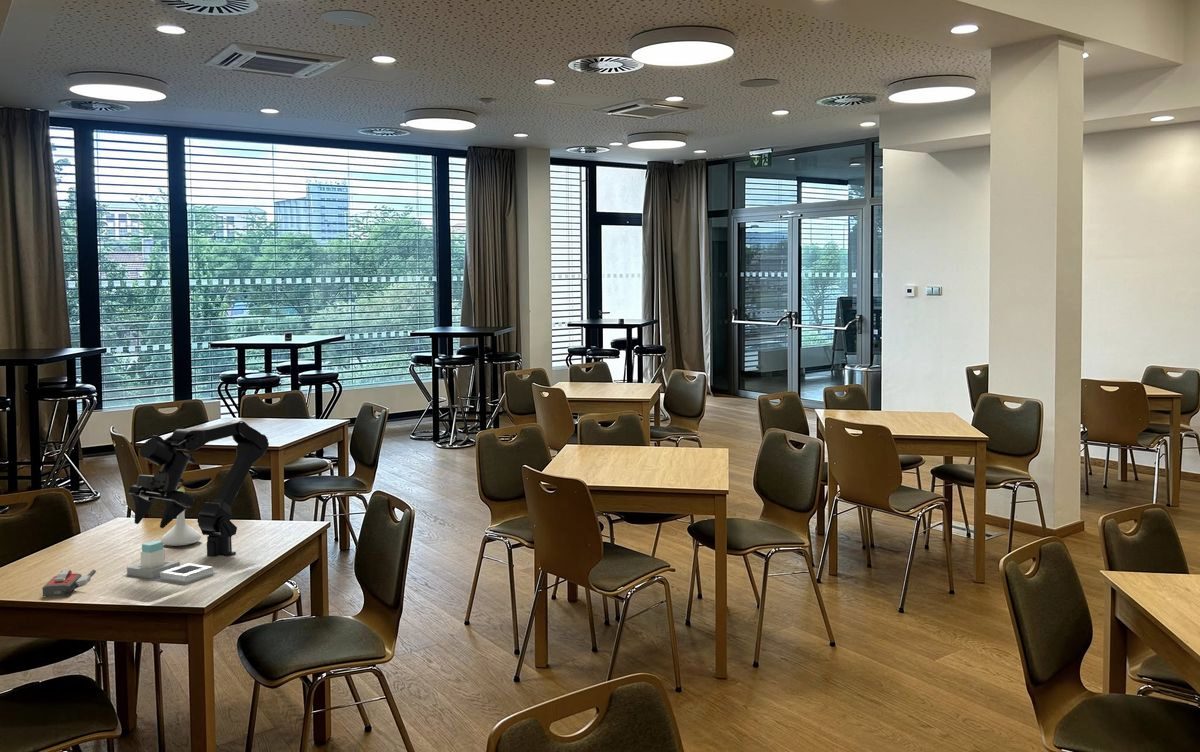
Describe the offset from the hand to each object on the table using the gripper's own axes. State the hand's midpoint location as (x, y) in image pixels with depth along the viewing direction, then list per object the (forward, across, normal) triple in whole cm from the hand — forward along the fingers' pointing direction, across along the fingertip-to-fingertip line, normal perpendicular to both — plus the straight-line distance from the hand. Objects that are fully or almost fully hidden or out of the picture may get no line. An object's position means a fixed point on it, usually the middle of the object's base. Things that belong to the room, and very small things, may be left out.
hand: (148, 525), depth 264 cm
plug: (+10, 0, +8) cm, 13 cm away
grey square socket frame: (+11, 0, +9) cm, 14 cm away
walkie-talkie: (+20, -12, -5) cm, 24 cm away
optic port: (+11, +12, +8) cm, 18 cm away
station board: (+11, +6, +9) cm, 15 cm away
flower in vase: (-2, -19, +32) cm, 38 cm away
